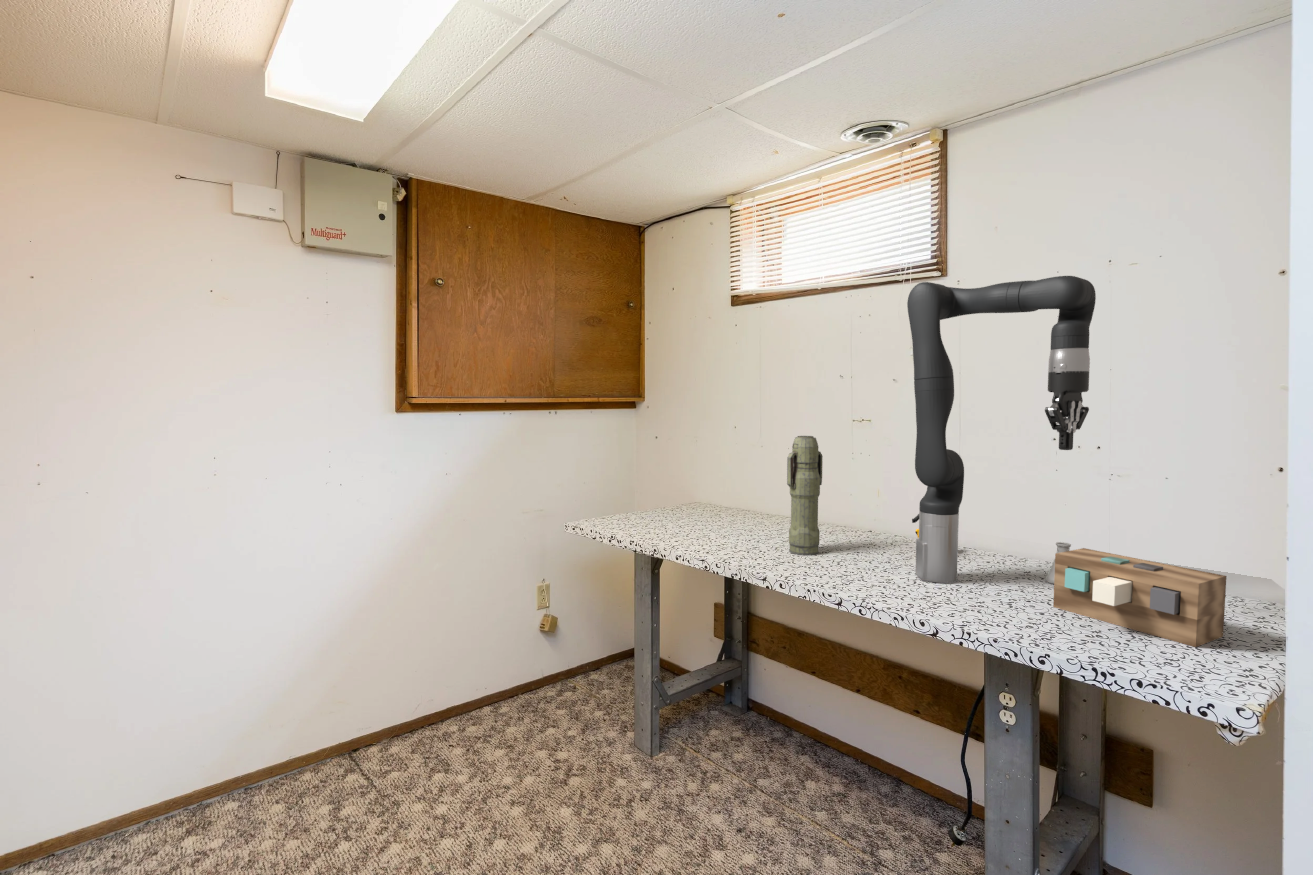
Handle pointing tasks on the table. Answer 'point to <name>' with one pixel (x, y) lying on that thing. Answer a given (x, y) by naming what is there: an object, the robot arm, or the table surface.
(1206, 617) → the block
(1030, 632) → the table surface
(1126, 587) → the key ivory
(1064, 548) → the flask
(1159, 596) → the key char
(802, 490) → the thermos
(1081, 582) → the key teal
